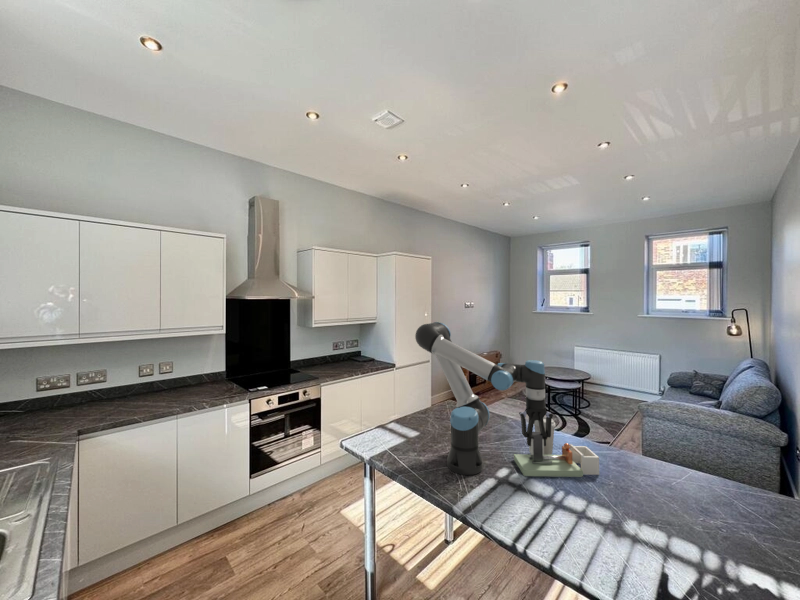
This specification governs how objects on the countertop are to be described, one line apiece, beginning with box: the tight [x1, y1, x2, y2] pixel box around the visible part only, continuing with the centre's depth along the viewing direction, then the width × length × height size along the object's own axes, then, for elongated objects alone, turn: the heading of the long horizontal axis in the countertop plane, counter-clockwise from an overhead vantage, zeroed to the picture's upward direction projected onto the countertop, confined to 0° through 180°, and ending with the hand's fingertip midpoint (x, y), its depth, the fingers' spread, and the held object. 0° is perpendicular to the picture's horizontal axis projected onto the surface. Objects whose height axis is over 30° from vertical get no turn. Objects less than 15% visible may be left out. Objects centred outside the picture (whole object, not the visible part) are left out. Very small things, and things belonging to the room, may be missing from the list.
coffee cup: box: [533, 416, 557, 455], centre depth 146 cm, size 10×10×15 cm
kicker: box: [531, 431, 573, 464], centre depth 132 cm, size 16×6×11 cm, turn 87°
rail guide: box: [529, 457, 552, 464], centre depth 132 cm, size 8×4×1 cm, turn 87°
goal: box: [569, 443, 600, 476], centre depth 131 cm, size 7×10×8 cm
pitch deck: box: [513, 453, 584, 478], centre depth 132 cm, size 23×13×2 cm, turn 87°
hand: (536, 453), depth 132 cm, fingers closed on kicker, 4 cm apart
